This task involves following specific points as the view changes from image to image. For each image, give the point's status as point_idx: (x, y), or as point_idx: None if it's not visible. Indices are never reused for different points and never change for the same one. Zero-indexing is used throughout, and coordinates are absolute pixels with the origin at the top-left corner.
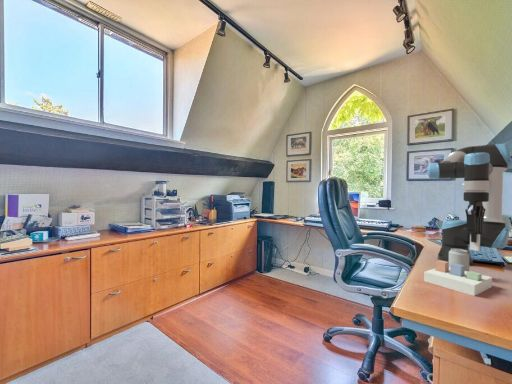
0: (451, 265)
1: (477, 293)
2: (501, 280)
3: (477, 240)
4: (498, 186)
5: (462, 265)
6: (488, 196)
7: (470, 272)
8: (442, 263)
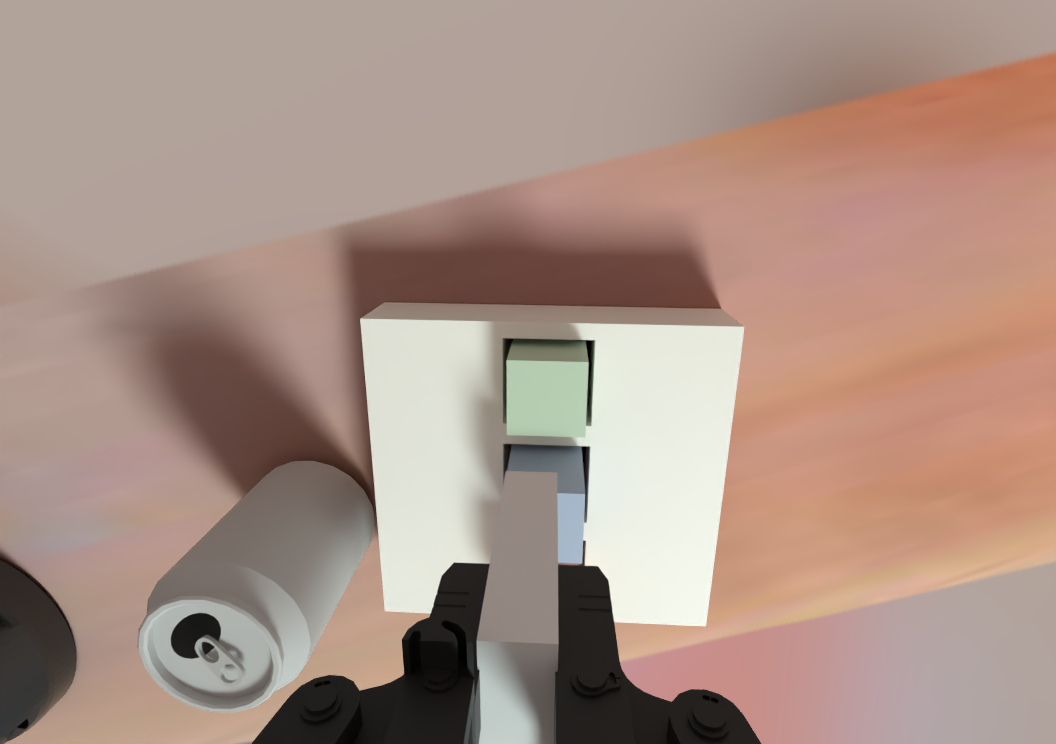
0: (582, 552)
1: (667, 308)
2: (138, 308)
3: (558, 575)
4: None
5: None
6: None
7: (555, 420)
8: None
